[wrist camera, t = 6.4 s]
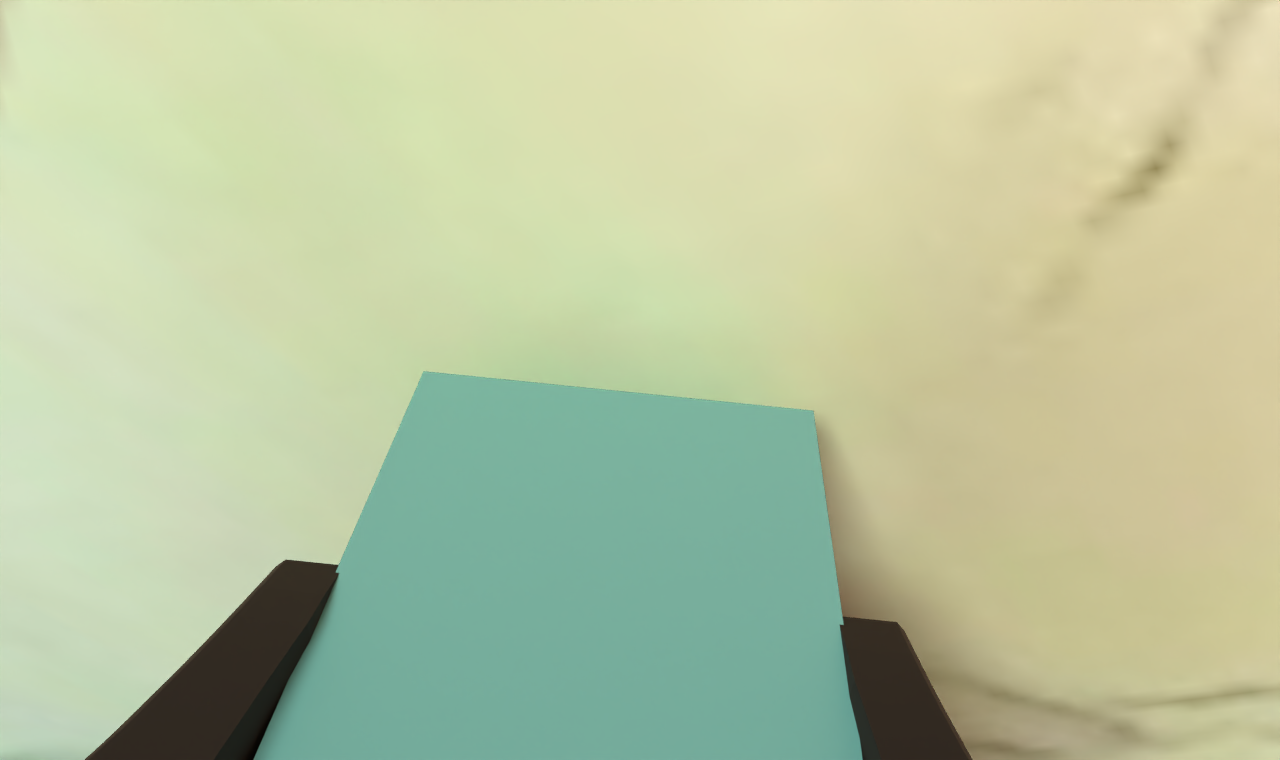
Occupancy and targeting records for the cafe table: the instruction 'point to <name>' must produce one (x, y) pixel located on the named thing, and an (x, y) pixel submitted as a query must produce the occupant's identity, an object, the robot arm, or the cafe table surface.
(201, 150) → the cafe table surface
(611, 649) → the domino
